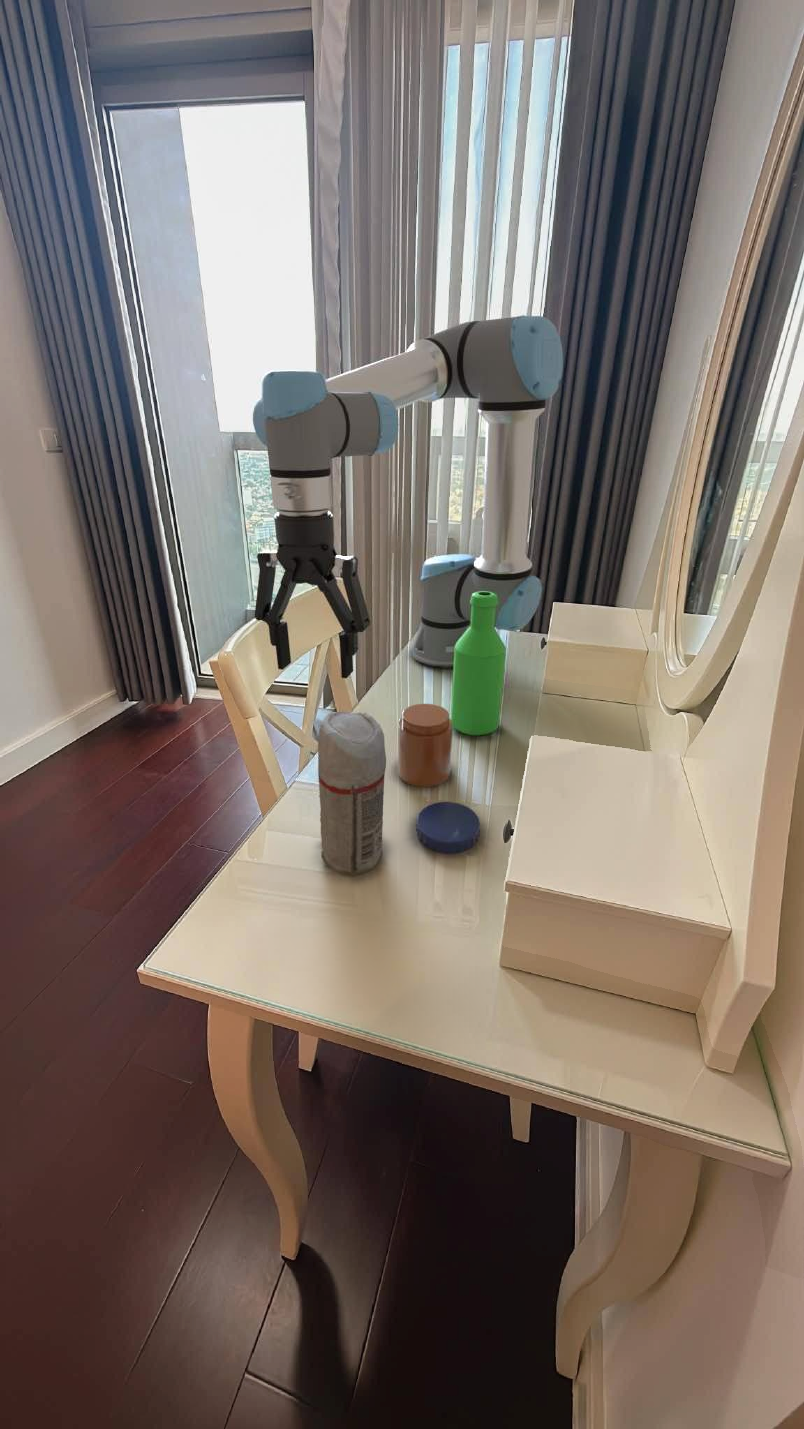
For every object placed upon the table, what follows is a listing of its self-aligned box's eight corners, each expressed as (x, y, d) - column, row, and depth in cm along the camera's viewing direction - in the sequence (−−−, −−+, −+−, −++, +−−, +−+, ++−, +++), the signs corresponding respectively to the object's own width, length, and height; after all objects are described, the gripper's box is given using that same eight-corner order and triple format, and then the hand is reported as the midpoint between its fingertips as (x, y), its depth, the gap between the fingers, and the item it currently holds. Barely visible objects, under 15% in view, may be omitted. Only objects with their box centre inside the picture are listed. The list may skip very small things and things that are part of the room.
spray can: (357, 824, 80) (351, 698, 70) (397, 853, 75) (398, 721, 65) (308, 853, 74) (295, 721, 65) (348, 886, 69) (340, 749, 60)
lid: (457, 863, 73) (458, 851, 72) (403, 835, 78) (403, 824, 77) (490, 827, 79) (491, 817, 78) (439, 804, 84) (439, 794, 83)
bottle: (497, 716, 107) (510, 587, 95) (499, 739, 100) (514, 602, 88) (450, 713, 108) (457, 585, 96) (449, 737, 101) (457, 600, 88)
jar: (406, 754, 96) (407, 698, 91) (455, 762, 93) (458, 706, 88) (391, 781, 89) (390, 723, 83) (443, 791, 86) (446, 732, 81)
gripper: (211, 511, 72) (236, 670, 83) (374, 521, 67) (377, 690, 77) (243, 502, 78) (261, 652, 89) (393, 511, 73) (394, 669, 84)
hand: (315, 670), depth 83 cm, fingers open, 9 cm apart
